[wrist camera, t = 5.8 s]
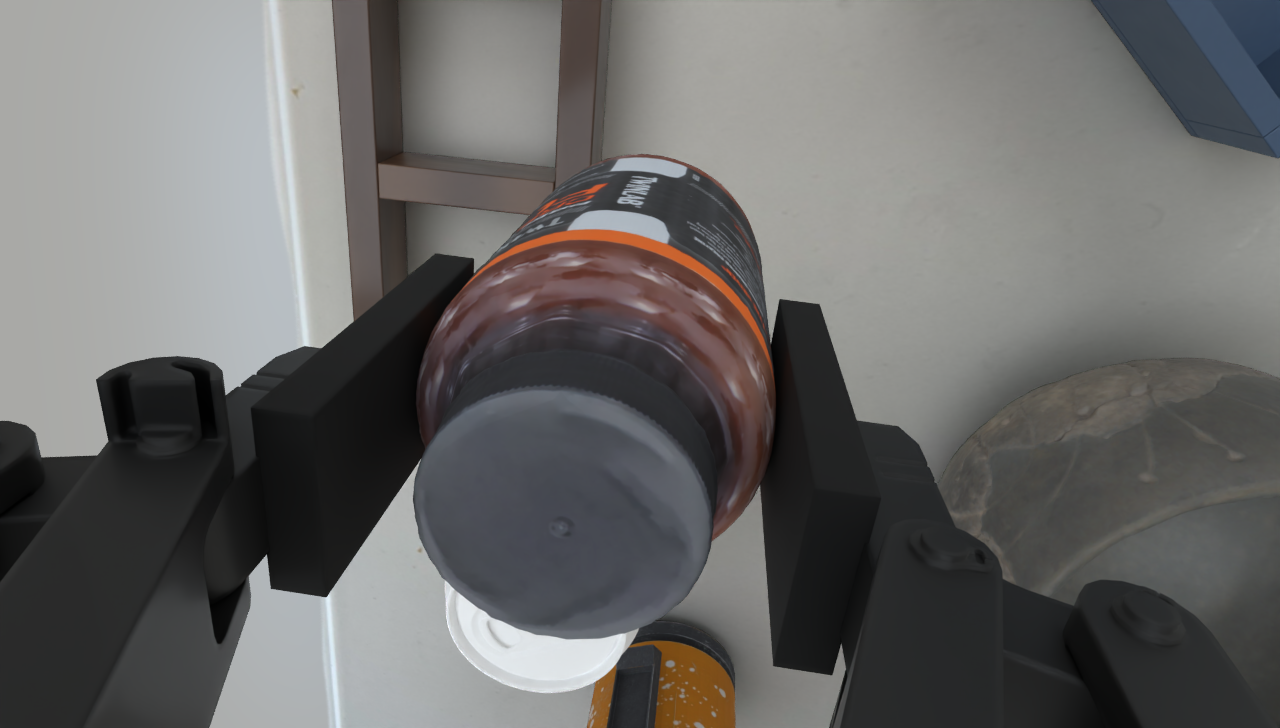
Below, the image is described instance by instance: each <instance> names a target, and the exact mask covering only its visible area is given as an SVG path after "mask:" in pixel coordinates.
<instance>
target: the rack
mask: <svg viewBox="0 0 1280 728" xmlns="http://www.w3.org/2000/svg"><path fill="white" fill-rule="evenodd" d="M611 5H612V0H562V20H561V44H560V68H559V92H558V115H557V139H556V163H555V168H550V167H541V166H532V165H523V164H513V163H504V162H495V161H485V160H476V159H467V158H457V157H448V156H439V155H430V154H420V153H411V152H403V140H402V113H401V86H400V59H399V32H398V5H397V0H332V8H333V23H334V37H335V52H336V67H337V81H338V96H339V111H340V125H341V140H342V155H343V169H344V184H345V199H346V213H347V228H348V243H349V257H350V272H351V287H352V301H353V316H354V321H355V320H356V319H358V318H359V317H360V316H361V315H362V314H364V313H365V312H366V311H367V310H368V309H370V308H371V307H372V306H373V305H374V304H376V303H377V302H378V301H379V300H380V299H382V298H383V297H384V296H385V295H386V294H388V293H389V292H390V291H391V290H392V289H394V288H395V287H396V286H397V285H398V284H400V283H401V282H402V281H403V280H405V279H406V278H407V277H408V275H407V248H406V221H405V201H408V202H417V203H426V204H435V205H444V206H453V207H462V208H471V209H480V210H489V211H498V212H507V213H516V214H525V215H531V214H532V213H533V211H534V210H536V209H537V208H538V207H539V205H540V204H541V203H542V202H543V201H544V199H546V198H547V196H548V195H550V194H551V193H553V192H554V191H555V189H556V188H557V187H559V186H560V185H561V184H562V183H564V182H565V181H567V180H568V179H569V178H571V177H572V176H573V175H575V174H577V173H579V172H580V171H582V170H583V169H585V168H587V167H589V166H591V165H593V164H595V163H598V162H600V161H601V157H602V142H603V127H604V112H605V96H606V81H607V66H608V51H609V35H610V20H611Z"/></svg>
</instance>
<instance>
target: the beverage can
mask: <svg viewBox="0 0 1280 728" xmlns="http://www.w3.org/2000/svg"><path fill="white" fill-rule="evenodd" d="M445 599H446V620H447V625H448V629H449V632H450V634H451V636H452V639H453V640H454V642H455V644H456V646H457V647H458V649H459V650H460V651H461V653H462V654H463V655H464V656H465V657H466V659H467V660H468V661H469V662H470V663H472V664H473V665H474V666H475V667H476V668H477V669H479V670H480V671H481V672H483V673H484V674H486V675H487V676H489V677H491V678H493V679H494V680H496V681H498V682H501V683H503V684H505V685H508V686H511V687H514V688H517V689H521V690H525V691H531V692H539V693H559V692H567V691H572V690H576V689H579V688H582V687H585V686H588V685H590V684H592V683H594V682H596V681H597V680H599V679H600V678H602V677H603V676H605V675H606V674H607V673H608V672H609V671H610V670H611V669H612V668H613V667H614V666H615V664H616V663H617V662H618V660H619V659H620V657H621V655H622V654H623V653H624V652H625V651H626V650H627V648H628V647H629V646H630V644H631V643H632V641H633V640H634V638H635V636H636V634H637V632H638V630H639V628H638V629H636V630H633V631H630V632H628V633H625V634H618V635H614V636H610V637H606V638H601V639H567V640H566V639H562V638H558V637H552V636H545V635H535V634H532V633H530V632H527V631H523V630H520V629H517V628H515V627H513V626H511V625H508V624H506V623H505V622H503V621H500V620H497V619H494V618H491V617H490V616H489V615H488V614H487V613H486V612H485V611H483V610H481V609H479V608H477V607H476V606H475V605H473V604H472V603H471V602H469V601H468V600H467V599H466V598H464V597H463V596H462V595H461V594H459V593H458V592H457V591H456V590H455V589H454V588H452V587H451V586H450V584H449V583H448V582H447V581H446V580H445Z"/></svg>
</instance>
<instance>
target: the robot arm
mask: <svg viewBox="0 0 1280 728" xmlns="http://www.w3.org/2000/svg"><path fill="white" fill-rule="evenodd" d="M473 275H474V259H473V258H465V257H458V256H450V255H442V254H435V255H433V256H432V257H431V258H430V259H429V260H427V261H426V262H425V263H424V264H423V265H421V266H420V267H419V268H418V269H417V270H415V271H414V272H413V273H412V274H411V275H409V276H408V277H407V278H406V279H405V280H403V281H402V282H401V283H400V284H398V285H397V286H396V287H395V288H394V289H392V290H391V291H390V292H389V293H388V294H386V295H385V296H384V297H383V298H382V299H380V300H379V301H378V302H377V303H376V304H374V305H373V306H372V307H371V308H370V309H368V310H367V311H366V312H365V313H364V314H362V315H361V316H360V317H359V318H358V319H356V320H355V321H354V322H353V323H352V324H350V325H349V326H348V327H347V328H346V329H344V330H343V331H342V332H341V333H340V334H338V335H337V336H336V337H335V338H334V339H332V340H331V341H330V342H329V343H327V344H326V345H325V346H324V347H323V348H314V347H307V346H304V347H301V348H299V349H296V350H293V351H291V352H288V353H286V354H283V355H280V356H278V357H275V358H274V359H273V360H272V361H270V362H269V363H268V364H266V365H265V366H264V367H262V368H261V369H260V370H259V371H258V372H257V375H252V376H251V377H249V378H248V379H247V380H246V381H244V382H243V383H242V384H241V387H236V388H235V389H234V390H232V391H231V392H230V393H228V394H227V395H226V396H225V388H224V380H223V372H222V370H221V369H220V368H219V367H218V366H217V365H216V364H214V363H211V362H209V361H206V360H202V359H199V358H190V357H179V356H176V357H159V358H151V359H145V360H140V361H135V362H130V363H127V364H125V365H122V366H119V367H117V368H114V369H112V370H109V371H108V372H106V373H105V374H103V375H102V376H101V377H99V378H98V379H96V382H97V387H98V392H99V396H100V401H101V406H102V411H103V416H104V421H105V426H106V431H107V436H108V443H107V444H106V445H105V447H104V448H103V449H102V451H101V452H100V453H99V454H98V455H97V456H73V457H45V458H41V455H40V450H39V446H38V442H37V438H36V435H35V433H34V432H33V431H32V430H31V429H30V428H29V427H27V426H26V425H22V424H18V423H14V422H10V421H0V728H209V727H210V724H211V721H212V718H213V715H214V712H215V709H216V706H217V703H218V700H219V697H220V694H221V691H222V688H223V685H224V682H225V680H226V677H227V673H228V671H229V668H230V665H231V662H232V659H233V656H234V653H235V650H236V647H237V644H238V641H239V638H240V635H241V632H242V629H243V626H244V623H245V621H246V618H247V614H248V612H249V609H250V601H251V599H250V598H251V592H250V584H249V575H250V573H251V572H252V571H253V570H254V569H255V567H256V566H257V565H258V564H259V563H260V561H261V560H262V559H263V558H264V557H265V556H266V554H267V558H268V566H269V576H270V585H271V589H276V590H283V591H289V592H296V593H302V594H308V595H315V596H321V597H327V596H328V594H329V593H330V591H331V590H332V588H333V587H334V585H335V584H336V583H337V581H338V580H339V578H340V577H341V575H342V574H343V572H344V571H345V569H346V568H347V566H348V565H349V563H350V562H351V561H352V559H353V558H354V556H355V555H356V553H357V552H358V550H359V549H360V547H361V546H362V544H363V543H364V542H365V540H366V539H367V537H368V536H369V534H370V533H371V531H372V530H373V528H374V527H375V525H376V524H377V522H378V521H379V520H380V518H381V517H382V515H383V514H384V512H385V511H386V509H387V508H388V506H389V505H390V503H391V502H392V500H393V499H394V498H395V496H396V495H397V493H398V492H399V490H400V489H401V487H402V486H403V484H404V483H405V481H406V480H407V478H408V477H409V476H410V474H411V473H412V471H413V470H414V468H415V467H416V465H417V464H418V462H419V461H420V459H421V458H422V455H423V453H424V451H425V445H424V444H423V442H422V439H421V434H420V426H419V422H418V416H417V408H416V390H417V379H418V376H419V369H420V366H421V362H422V359H423V355H424V351H425V348H426V346H427V343H428V341H429V338H430V335H431V332H432V331H433V329H434V327H435V325H436V324H437V322H438V321H439V319H440V318H441V316H442V314H443V312H444V311H445V309H446V307H447V306H448V305H449V304H450V303H451V301H452V300H453V299H454V298H455V297H456V295H457V294H458V293H459V292H460V291H461V290H462V289H463V288H464V286H465V285H466V284H467V282H468V281H469V280H470V279H471V277H472V276H473ZM771 350H772V360H773V366H774V381H775V392H776V423H775V434H774V442H773V447H772V453H771V457H770V461H769V463H768V466H767V470H766V473H765V476H764V478H763V480H762V482H761V484H760V488H761V502H762V516H763V530H764V543H765V557H766V571H767V585H768V599H769V613H770V627H771V641H772V654H773V666H775V667H782V668H788V669H795V670H801V671H808V672H814V673H821V674H827V675H833V671H834V667H835V664H836V660H837V657H838V653H839V649H840V646H841V643H842V649H843V654H844V659H845V665H846V671H845V675H844V678H843V682H842V685H841V689H840V692H839V696H838V699H837V703H836V706H835V710H834V713H833V717H832V720H831V724H830V727H829V728H1279V727H1278V726H1277V724H1276V723H1275V721H1274V720H1273V719H1272V717H1271V716H1270V714H1269V713H1268V712H1267V710H1266V709H1265V707H1264V706H1263V704H1262V703H1261V702H1260V700H1259V699H1258V697H1257V696H1256V695H1255V693H1254V692H1253V690H1252V689H1251V687H1250V686H1249V685H1248V683H1247V682H1246V680H1245V679H1244V678H1243V676H1242V675H1241V673H1240V672H1239V670H1238V669H1237V668H1236V666H1235V665H1234V663H1233V662H1232V661H1231V659H1230V658H1229V656H1228V655H1227V653H1226V652H1225V651H1224V649H1223V648H1222V646H1221V645H1220V644H1219V642H1218V641H1217V639H1216V638H1215V636H1214V635H1213V634H1212V632H1211V631H1210V630H1209V629H1208V628H1207V627H1206V626H1205V625H1204V624H1203V623H1202V622H1201V621H1200V620H1199V619H1198V618H1197V617H1196V616H1195V615H1194V614H1192V613H1191V612H1190V611H1188V610H1187V609H1185V608H1184V607H1182V606H1181V605H1179V604H1178V603H1176V602H1175V601H1174V600H1173V599H1171V598H1169V597H1167V596H1166V595H1164V594H1162V593H1160V594H1159V593H1157V591H1155V590H1153V589H1150V588H1147V587H1144V586H1139V585H1135V584H1132V583H1128V582H1124V581H1117V580H1097V581H1094V582H1091V583H1087V584H1085V586H1084V587H1083V589H1082V590H1081V592H1080V593H1079V595H1078V597H1077V600H1076V602H1075V604H1074V606H1073V605H1070V604H1067V603H1064V602H1061V601H1058V600H1055V599H1052V598H1050V597H1047V596H1044V595H1041V594H1038V593H1035V592H1032V591H1029V590H1027V589H1024V588H1022V587H1019V586H1017V585H1015V584H1012V583H1010V582H1008V581H1006V580H1005V579H1003V571H1002V569H1001V566H1000V563H999V560H998V557H997V556H996V555H995V554H994V553H993V552H992V551H991V550H990V549H989V548H988V546H987V545H986V544H985V543H983V542H981V541H980V540H978V539H977V538H975V537H974V536H972V535H971V534H969V533H968V532H966V531H963V530H961V529H958V528H956V527H955V524H954V522H953V520H952V518H951V515H950V513H949V511H948V509H947V506H946V504H945V502H944V500H943V497H942V495H941V493H940V491H939V488H938V486H937V484H936V483H934V477H933V475H932V473H931V471H930V468H929V467H927V462H926V459H925V457H924V455H923V453H922V450H921V448H920V446H919V444H918V443H916V442H915V441H914V440H913V439H912V438H911V437H910V436H909V435H907V434H906V433H905V432H904V431H903V430H902V429H901V428H900V427H898V426H892V425H884V424H877V423H870V422H863V421H857V420H856V417H855V414H854V411H853V407H852V404H851V401H850V398H849V395H848V392H847V389H846V386H845V382H844V379H843V376H842V373H841V370H840V367H839V364H838V361H837V357H836V354H835V351H834V348H833V345H832V342H831V339H830V336H829V332H828V329H827V326H826V323H825V320H824V317H823V314H822V311H821V307H820V304H813V303H805V302H798V301H790V300H783V299H780V300H779V305H778V310H777V316H776V321H775V326H774V332H773V337H772V342H771Z"/></svg>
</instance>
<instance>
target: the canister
mask: <svg viewBox="0 0 1280 728" xmlns="http://www.w3.org/2000/svg"><path fill="white" fill-rule="evenodd" d="M587 728H735V673H734V668H733V664H732V662H731V659H730V657H729V655H728V654H727V652H726V651H725V649H724V648H723V647H722V646H721V645H720V644H719V643H718V642H717V641H716V640H715V639H713V638H712V637H711V636H709V635H708V634H706V633H704V632H703V631H701V630H699V629H696V628H694V627H692V626H688V625H685V624H682V623H676V622H667V621H655V622H653V623H651V624H649V625H646V626H643V627H641V628H639V630H638V632H637V634H636V636H635V638H634V640H633V641H632V643H631V644H630V646H629V647H628V648H627V650H626V651H625V652H624V653H623V654H622V655H621V657H620V659H619V660H618V662H617V663H616V664H615V666H614V667H613V668H612V669H611V670H610V671H609V672H608V673H607V674H606V675H605V676H603V677H602V678H600V679H599V680H597V681H596V683H595V688H594V694H593V699H592V704H591V709H590V714H589V719H588V725H587Z"/></svg>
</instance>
